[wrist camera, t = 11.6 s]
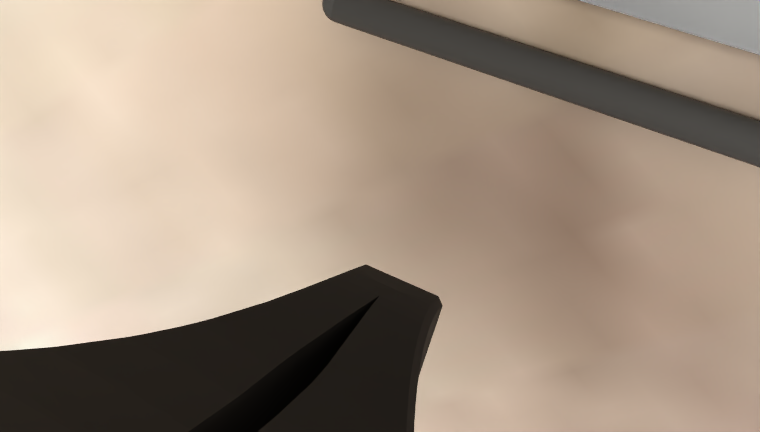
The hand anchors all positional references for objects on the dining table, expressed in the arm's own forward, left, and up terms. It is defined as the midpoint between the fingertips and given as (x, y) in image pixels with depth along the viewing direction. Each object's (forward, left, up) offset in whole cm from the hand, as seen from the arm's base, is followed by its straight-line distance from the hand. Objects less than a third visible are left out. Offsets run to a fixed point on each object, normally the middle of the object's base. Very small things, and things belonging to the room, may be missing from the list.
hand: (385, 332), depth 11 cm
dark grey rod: (-4, -3, -10) cm, 11 cm away
